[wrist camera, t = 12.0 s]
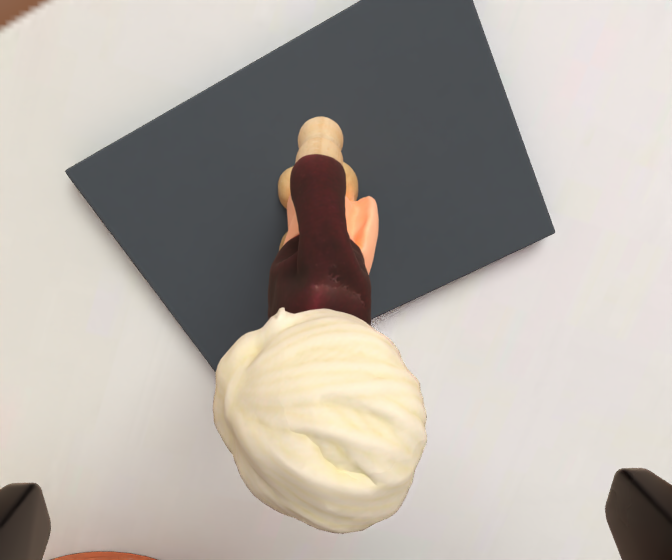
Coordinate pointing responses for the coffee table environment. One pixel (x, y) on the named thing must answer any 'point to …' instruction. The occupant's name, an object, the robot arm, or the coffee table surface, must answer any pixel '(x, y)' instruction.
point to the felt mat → (358, 152)
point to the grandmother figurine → (322, 362)
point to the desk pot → (104, 556)
